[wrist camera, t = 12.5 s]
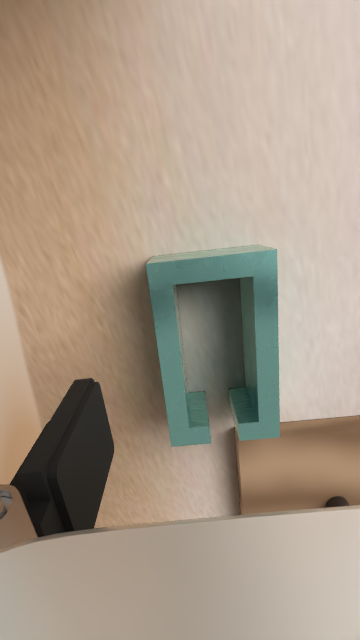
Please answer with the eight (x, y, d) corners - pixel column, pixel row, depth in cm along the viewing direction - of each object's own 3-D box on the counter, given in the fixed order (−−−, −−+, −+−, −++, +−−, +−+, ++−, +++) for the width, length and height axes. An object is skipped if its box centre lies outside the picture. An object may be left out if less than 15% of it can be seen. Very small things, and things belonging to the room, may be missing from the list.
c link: (153, 256, 19) (145, 263, 15) (257, 244, 19) (277, 249, 15) (173, 408, 22) (171, 446, 18) (262, 400, 22) (279, 437, 18)
